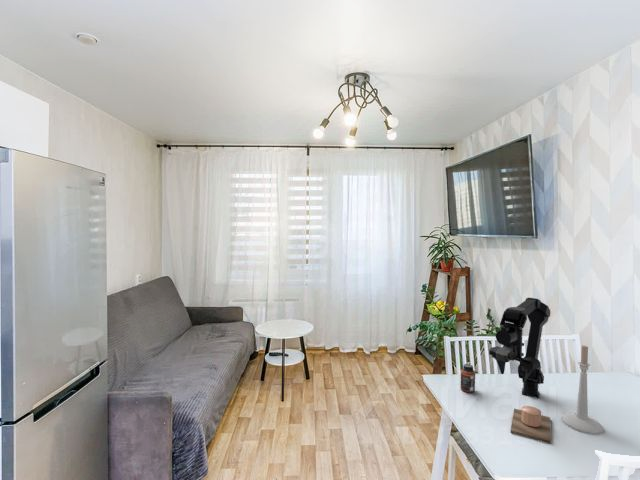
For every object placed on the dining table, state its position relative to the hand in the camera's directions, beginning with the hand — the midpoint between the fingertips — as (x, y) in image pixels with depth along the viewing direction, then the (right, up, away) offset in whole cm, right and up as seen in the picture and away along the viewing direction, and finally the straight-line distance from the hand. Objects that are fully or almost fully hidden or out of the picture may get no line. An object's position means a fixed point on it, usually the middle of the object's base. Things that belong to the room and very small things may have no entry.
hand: (512, 378), depth 145 cm
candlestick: (+19, -13, -12) cm, 26 cm away
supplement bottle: (-12, -12, +15) cm, 23 cm away
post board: (-1, -13, -13) cm, 18 cm away
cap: (-1, -11, -13) cm, 17 cm away
